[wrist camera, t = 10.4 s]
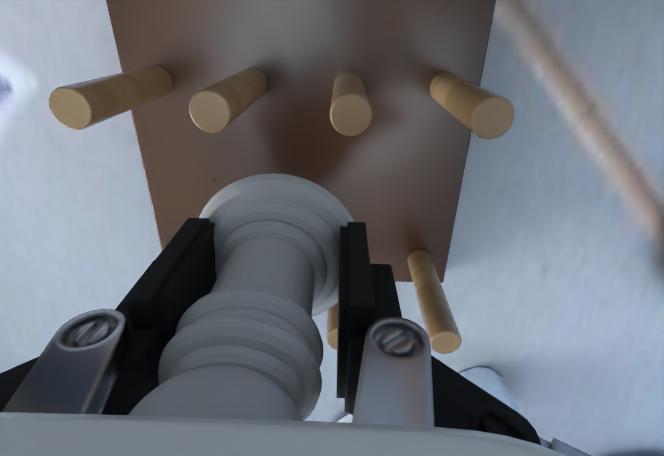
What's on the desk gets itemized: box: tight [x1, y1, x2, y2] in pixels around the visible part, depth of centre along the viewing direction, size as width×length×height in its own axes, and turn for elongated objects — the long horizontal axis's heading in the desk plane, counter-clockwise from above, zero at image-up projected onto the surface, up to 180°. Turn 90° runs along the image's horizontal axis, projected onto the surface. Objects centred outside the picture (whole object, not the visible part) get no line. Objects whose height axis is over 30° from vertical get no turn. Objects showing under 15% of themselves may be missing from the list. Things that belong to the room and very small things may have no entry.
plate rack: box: [49, 0, 514, 354], centre depth 14 cm, size 15×20×7 cm
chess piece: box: [128, 173, 354, 421], centre depth 9 cm, size 5×5×9 cm
